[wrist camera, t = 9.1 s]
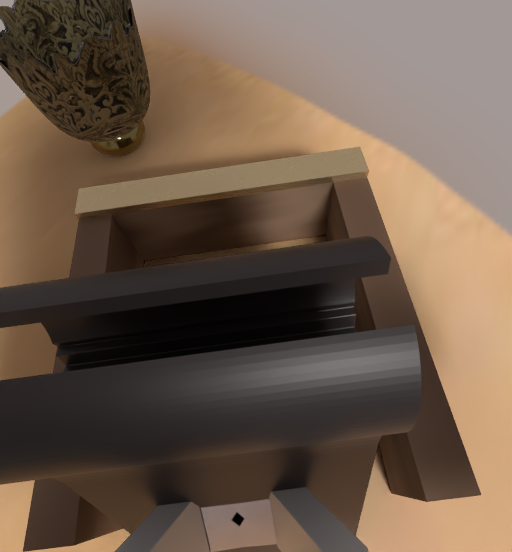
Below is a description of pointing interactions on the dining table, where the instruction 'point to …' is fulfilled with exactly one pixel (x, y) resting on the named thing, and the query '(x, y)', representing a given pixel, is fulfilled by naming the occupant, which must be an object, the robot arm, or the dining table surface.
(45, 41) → the cup
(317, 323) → the phone stand
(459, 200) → the dining table surface
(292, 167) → the frame
